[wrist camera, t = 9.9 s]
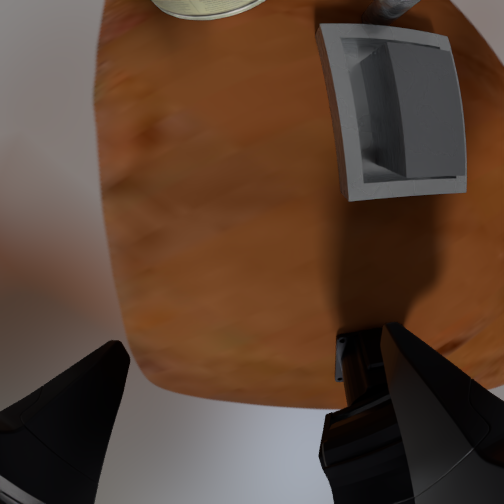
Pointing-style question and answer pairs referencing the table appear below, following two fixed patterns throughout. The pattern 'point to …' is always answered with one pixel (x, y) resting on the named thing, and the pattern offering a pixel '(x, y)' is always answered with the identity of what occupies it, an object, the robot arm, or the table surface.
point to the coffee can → (205, 8)
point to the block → (414, 110)
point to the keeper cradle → (356, 106)
